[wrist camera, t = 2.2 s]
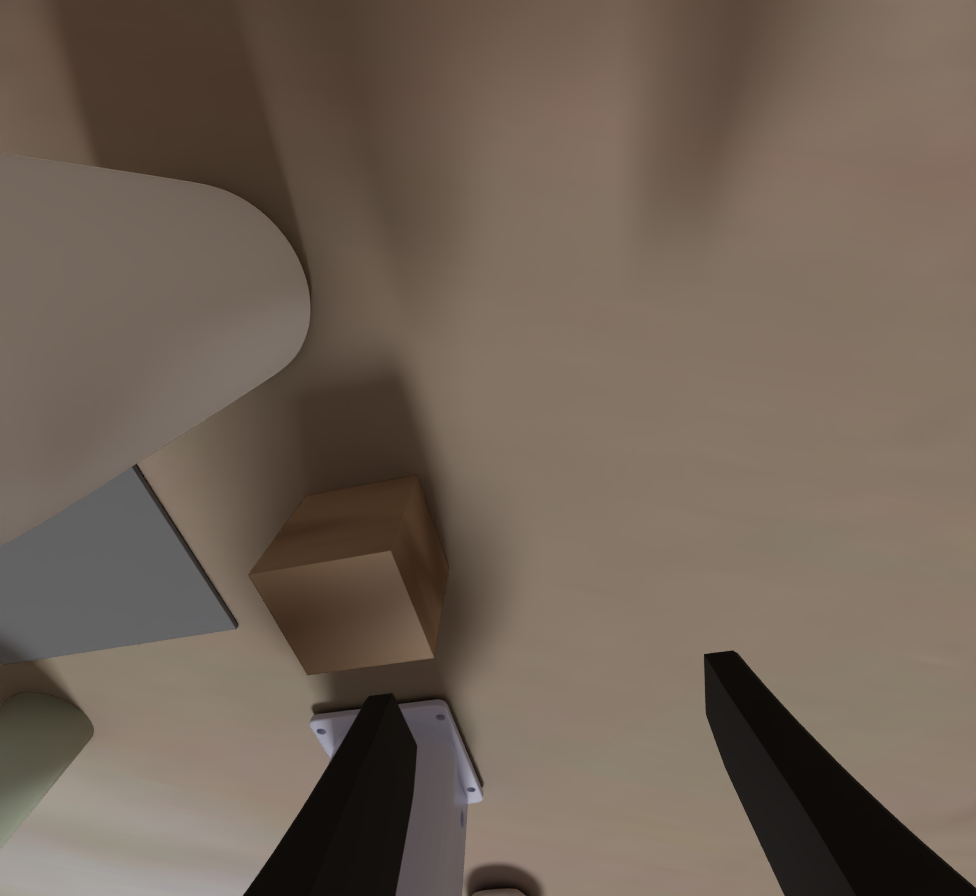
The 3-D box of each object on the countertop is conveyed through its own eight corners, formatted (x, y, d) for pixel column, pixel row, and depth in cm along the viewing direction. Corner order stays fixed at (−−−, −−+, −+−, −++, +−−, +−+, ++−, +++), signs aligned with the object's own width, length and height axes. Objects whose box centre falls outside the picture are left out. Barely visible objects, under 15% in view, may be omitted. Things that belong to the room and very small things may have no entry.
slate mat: (238, 625, 23) (236, 628, 23) (7, 661, 25) (3, 664, 25) (69, 360, 17) (64, 362, 17) (-219, 432, 19) (-226, 434, 19)
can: (94, 285, 16) (-783, 405, 5) (190, 132, 14) (-948, -216, 3) (249, 412, 18) (-146, 697, 7) (353, 295, 16) (22, 442, 5)
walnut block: (449, 565, 21) (434, 658, 16) (348, 582, 22) (307, 675, 17) (417, 473, 19) (390, 550, 14) (307, 494, 19) (247, 575, 15)
